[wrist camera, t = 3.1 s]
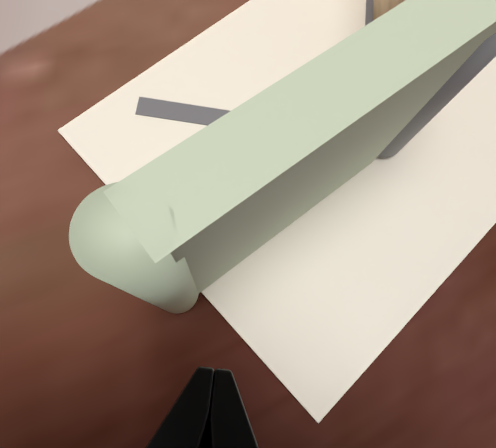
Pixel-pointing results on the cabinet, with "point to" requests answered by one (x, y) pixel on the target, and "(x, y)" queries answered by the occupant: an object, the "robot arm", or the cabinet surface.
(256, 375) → the cabinet surface
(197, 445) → the robot arm
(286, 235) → the card
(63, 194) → the cabinet surface
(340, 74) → the folding fence panel
